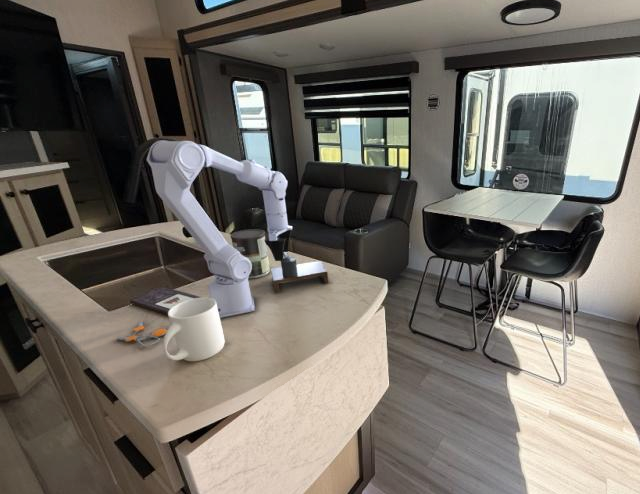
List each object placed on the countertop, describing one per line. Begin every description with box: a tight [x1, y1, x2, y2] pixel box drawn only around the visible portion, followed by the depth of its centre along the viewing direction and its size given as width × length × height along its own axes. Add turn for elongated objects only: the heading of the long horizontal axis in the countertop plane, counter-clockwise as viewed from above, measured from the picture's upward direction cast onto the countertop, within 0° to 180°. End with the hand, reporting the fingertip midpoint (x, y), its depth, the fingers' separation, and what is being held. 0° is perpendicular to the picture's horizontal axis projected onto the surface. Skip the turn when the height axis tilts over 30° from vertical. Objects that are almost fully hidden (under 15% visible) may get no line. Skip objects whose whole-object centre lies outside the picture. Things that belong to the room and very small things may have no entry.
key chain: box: [116, 320, 168, 348], centre depth 75 cm, size 13×7×1 cm, turn 66°
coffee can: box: [230, 228, 271, 280], centre depth 107 cm, size 10×10×14 cm
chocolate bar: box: [129, 286, 203, 316], centre depth 89 cm, size 9×1×18 cm
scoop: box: [280, 252, 298, 278], centre depth 99 cm, size 9×4×5 cm, turn 25°
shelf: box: [270, 260, 329, 294], centre depth 102 cm, size 16×10×4 cm, turn 116°
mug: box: [162, 297, 226, 362], centre depth 66 cm, size 9×12×11 cm
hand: (282, 256), depth 98 cm, fingers open, 7 cm apart
